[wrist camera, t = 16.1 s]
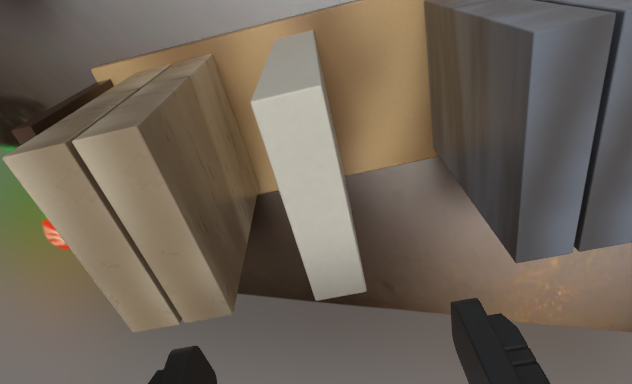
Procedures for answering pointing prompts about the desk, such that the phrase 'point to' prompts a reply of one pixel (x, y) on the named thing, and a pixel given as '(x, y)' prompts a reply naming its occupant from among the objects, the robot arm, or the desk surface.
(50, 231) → the desk surface
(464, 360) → the robot arm
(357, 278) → the book
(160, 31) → the desk surface
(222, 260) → the rack
